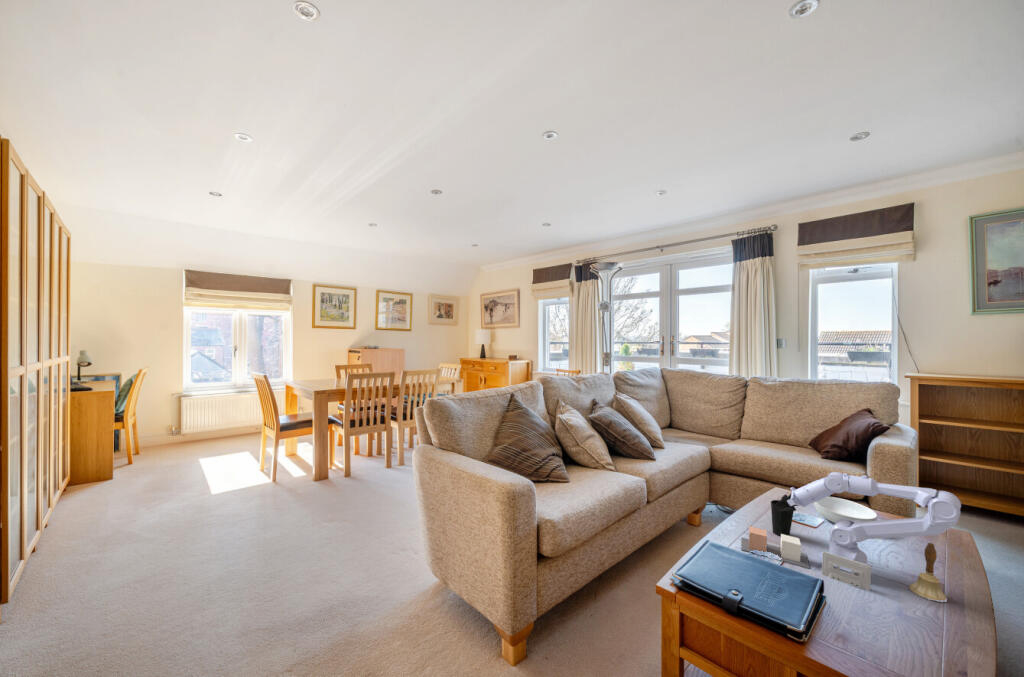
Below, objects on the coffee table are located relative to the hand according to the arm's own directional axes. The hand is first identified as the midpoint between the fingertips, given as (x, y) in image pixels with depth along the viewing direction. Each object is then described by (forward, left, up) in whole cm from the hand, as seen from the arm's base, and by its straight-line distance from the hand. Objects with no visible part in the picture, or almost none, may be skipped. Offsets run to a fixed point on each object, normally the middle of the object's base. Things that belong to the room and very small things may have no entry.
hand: (777, 507), depth 149 cm
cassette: (-23, -2, -14) cm, 27 cm away
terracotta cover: (-1, +10, -13) cm, 17 cm away
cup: (+6, -9, -14) cm, 17 cm away
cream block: (-8, +3, -13) cm, 16 cm away
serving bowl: (+9, -46, -14) cm, 48 cm away
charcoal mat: (-5, +7, -14) cm, 16 cm away
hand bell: (-33, -22, -14) cm, 42 cm away
